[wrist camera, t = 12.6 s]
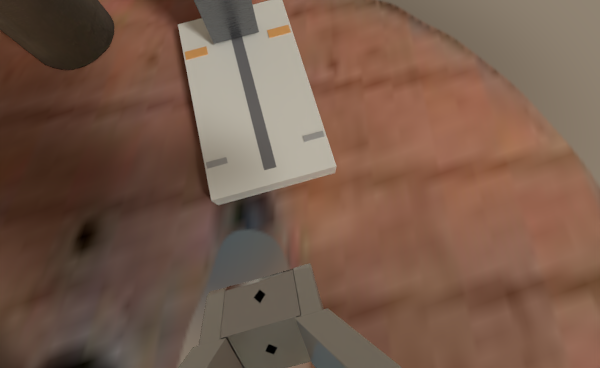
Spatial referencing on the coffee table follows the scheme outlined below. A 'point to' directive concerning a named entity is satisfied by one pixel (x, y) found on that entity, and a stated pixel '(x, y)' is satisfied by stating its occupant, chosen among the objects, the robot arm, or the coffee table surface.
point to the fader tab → (227, 18)
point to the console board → (254, 108)
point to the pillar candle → (58, 30)
